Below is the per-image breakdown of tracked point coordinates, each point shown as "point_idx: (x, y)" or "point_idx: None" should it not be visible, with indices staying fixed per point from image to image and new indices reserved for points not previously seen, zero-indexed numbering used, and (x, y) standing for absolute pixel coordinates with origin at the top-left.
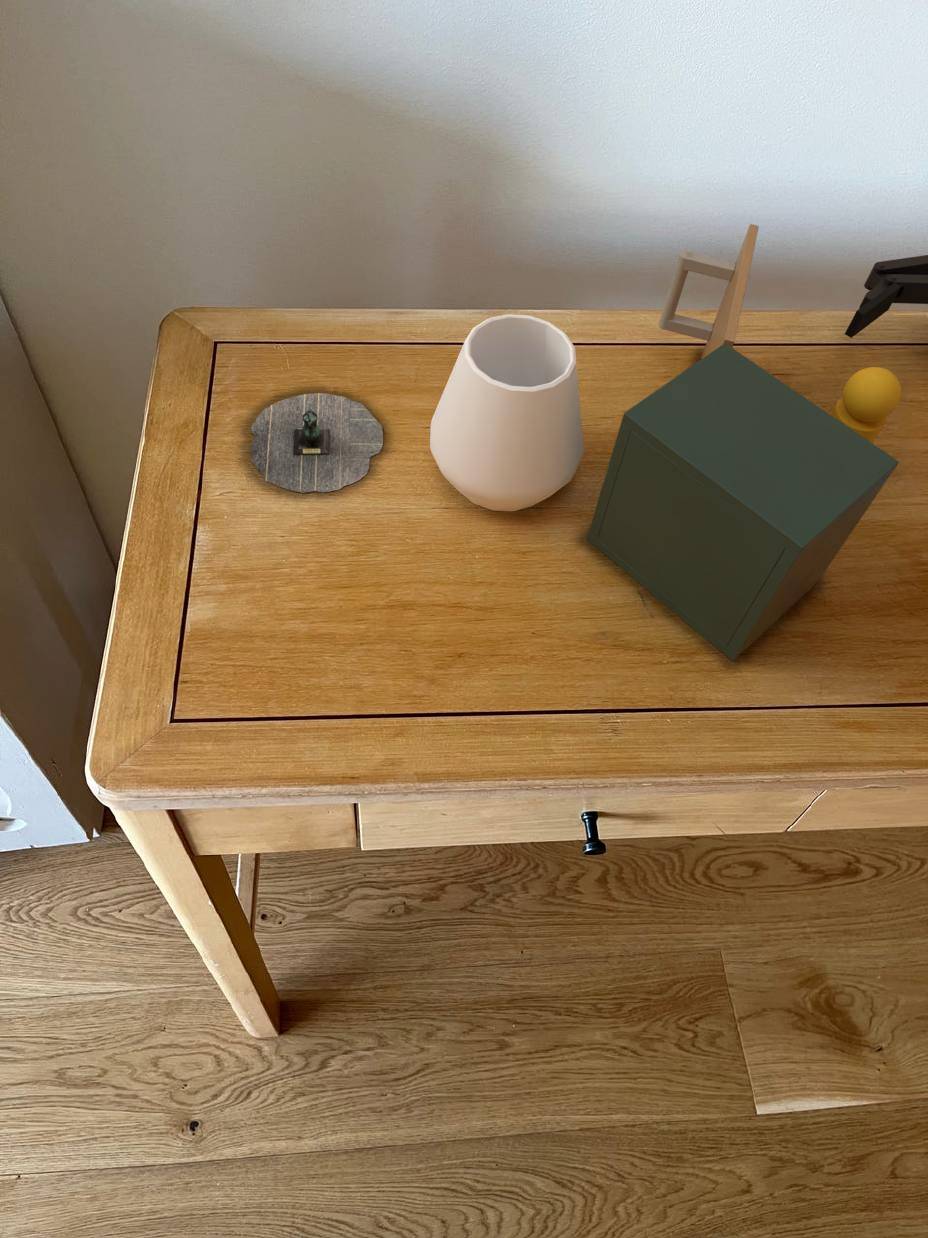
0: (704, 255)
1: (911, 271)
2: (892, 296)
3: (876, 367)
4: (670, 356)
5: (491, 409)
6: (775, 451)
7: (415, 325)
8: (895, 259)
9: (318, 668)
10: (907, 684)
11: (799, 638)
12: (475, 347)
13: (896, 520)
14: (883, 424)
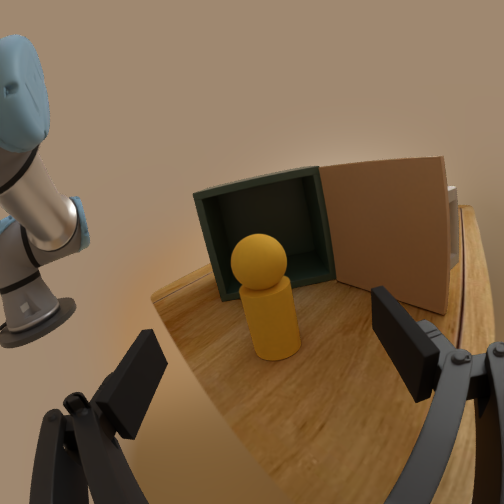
0: (449, 189)
1: (491, 435)
2: (412, 355)
3: (265, 238)
4: (448, 297)
5: None
6: (245, 179)
7: (475, 230)
8: None
9: None
10: (159, 304)
11: (212, 287)
12: None
13: (201, 351)
14: (239, 291)
